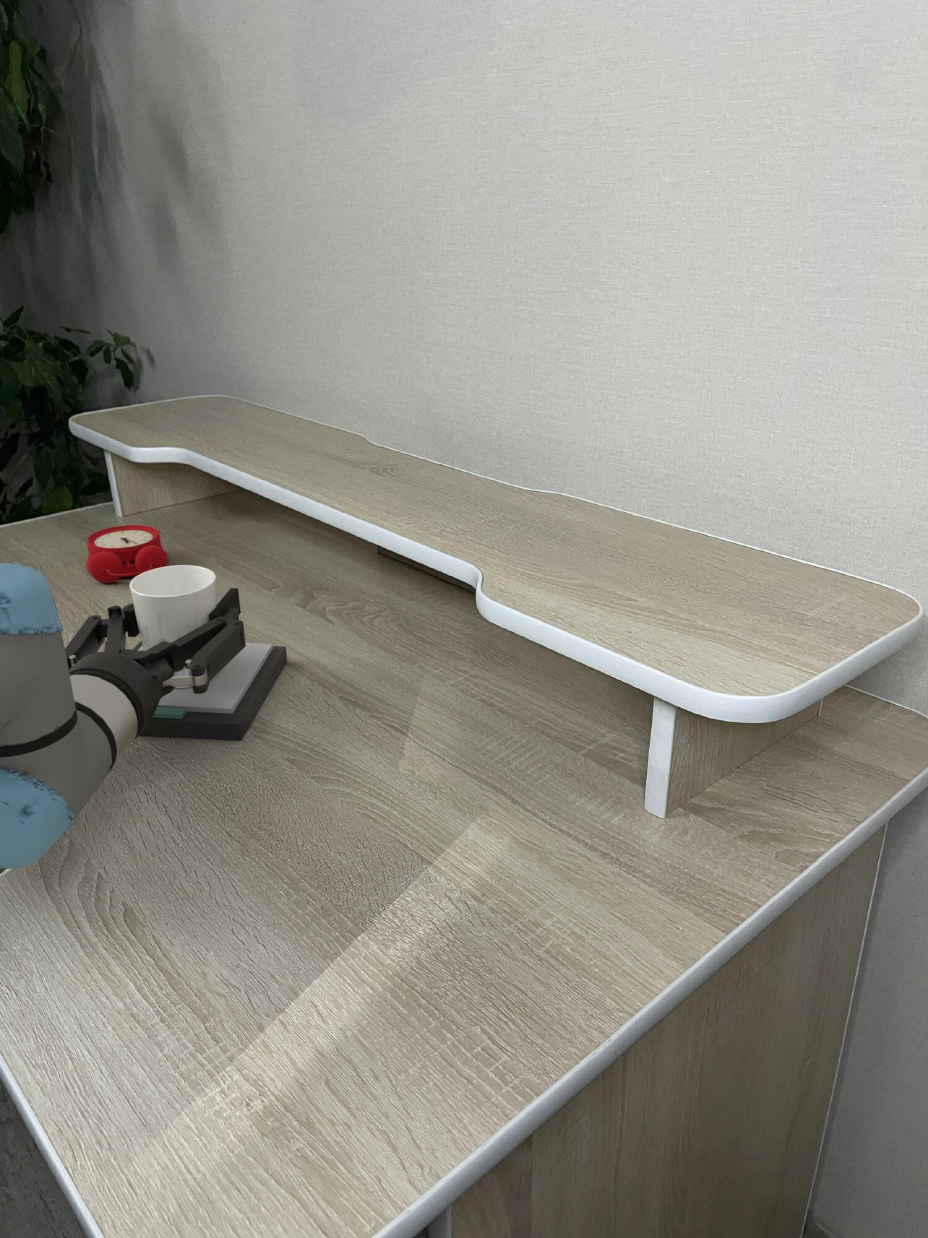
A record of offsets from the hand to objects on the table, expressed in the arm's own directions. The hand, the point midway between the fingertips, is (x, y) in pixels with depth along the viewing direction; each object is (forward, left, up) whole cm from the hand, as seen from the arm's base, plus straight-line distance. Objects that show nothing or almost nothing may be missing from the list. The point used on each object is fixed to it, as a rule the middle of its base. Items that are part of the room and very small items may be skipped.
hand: (195, 598), depth 95 cm
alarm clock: (-20, +27, -9) cm, 35 cm away
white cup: (0, -5, -6) cm, 8 cm away
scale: (0, -5, -8) cm, 10 cm away
